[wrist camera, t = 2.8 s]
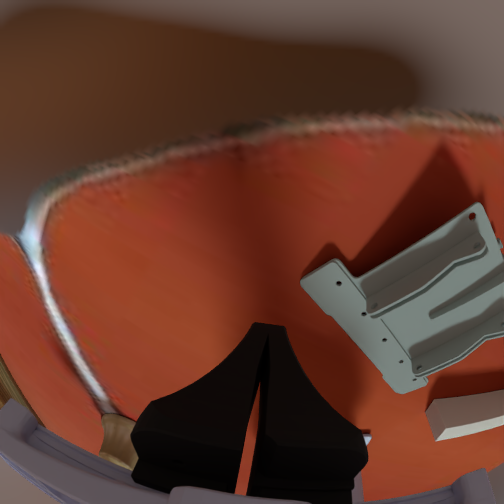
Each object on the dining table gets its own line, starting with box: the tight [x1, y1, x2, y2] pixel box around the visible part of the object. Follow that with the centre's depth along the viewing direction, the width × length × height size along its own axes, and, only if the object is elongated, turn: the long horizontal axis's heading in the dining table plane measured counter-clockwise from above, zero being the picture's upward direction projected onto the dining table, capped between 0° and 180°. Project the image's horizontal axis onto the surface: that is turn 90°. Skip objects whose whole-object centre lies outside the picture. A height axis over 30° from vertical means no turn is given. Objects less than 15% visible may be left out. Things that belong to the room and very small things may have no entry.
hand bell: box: [99, 413, 138, 471], centre depth 21 cm, size 8×8×16 cm
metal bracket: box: [300, 202, 504, 394], centre depth 17 cm, size 14×6×15 cm
